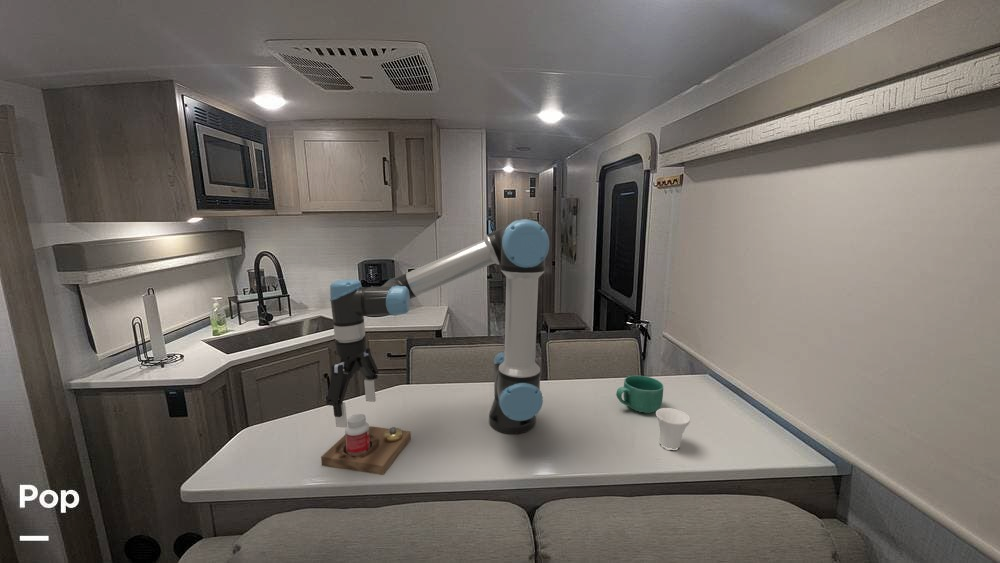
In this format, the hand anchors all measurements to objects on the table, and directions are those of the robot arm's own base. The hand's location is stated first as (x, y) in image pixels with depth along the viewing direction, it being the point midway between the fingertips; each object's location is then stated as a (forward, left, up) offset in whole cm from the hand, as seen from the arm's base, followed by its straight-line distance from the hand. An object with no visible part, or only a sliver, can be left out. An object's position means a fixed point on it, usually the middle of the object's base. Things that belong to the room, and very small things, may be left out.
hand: (357, 413), depth 100 cm
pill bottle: (0, 0, -13) cm, 13 cm away
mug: (-80, -43, -13) cm, 91 cm away
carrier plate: (-2, -2, -13) cm, 13 cm away
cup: (-86, -22, -13) cm, 89 cm away
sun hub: (-7, -6, -10) cm, 14 cm away
